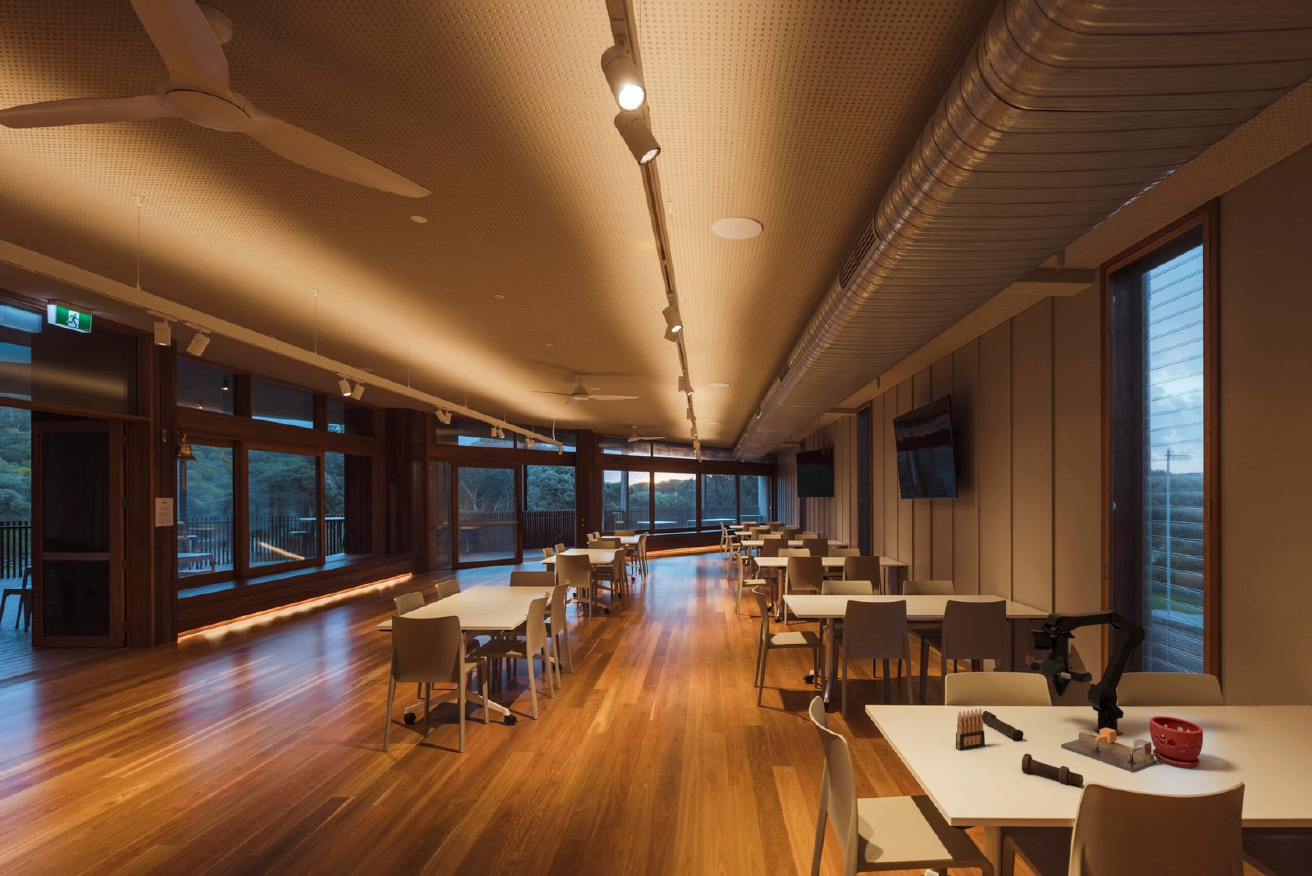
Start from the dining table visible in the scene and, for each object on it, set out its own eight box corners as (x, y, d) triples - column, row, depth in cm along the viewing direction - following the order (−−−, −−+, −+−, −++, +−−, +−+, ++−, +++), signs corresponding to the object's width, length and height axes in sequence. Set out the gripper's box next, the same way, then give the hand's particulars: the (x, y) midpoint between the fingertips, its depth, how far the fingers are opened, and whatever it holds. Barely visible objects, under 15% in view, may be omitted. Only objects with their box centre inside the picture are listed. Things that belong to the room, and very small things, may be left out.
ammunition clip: (980, 744, 220) (979, 707, 221) (985, 746, 218) (984, 708, 219) (955, 748, 216) (955, 710, 217) (960, 751, 214) (959, 712, 215)
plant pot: (1141, 757, 212) (1140, 718, 212) (1167, 751, 217) (1165, 713, 218) (1187, 774, 200) (1186, 733, 200) (1213, 767, 205) (1212, 727, 206)
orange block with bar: (1106, 743, 219) (1106, 727, 219) (1116, 746, 216) (1116, 730, 217) (1091, 748, 215) (1091, 732, 215) (1101, 751, 212) (1101, 735, 212)
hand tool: (1024, 742, 223) (1024, 728, 224) (1013, 742, 223) (1013, 728, 223) (990, 722, 242) (989, 709, 242) (979, 722, 242) (979, 709, 242)
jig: (1085, 740, 225) (1084, 721, 226) (1156, 763, 207) (1155, 743, 207) (1061, 747, 218) (1060, 728, 219) (1132, 772, 200) (1131, 751, 201)
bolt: (1081, 795, 189) (1023, 776, 199) (1085, 781, 192) (1027, 763, 202) (1079, 780, 187) (1020, 762, 197) (1083, 766, 190) (1025, 749, 201)
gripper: (1019, 647, 239) (1020, 691, 238) (1073, 659, 223) (1074, 707, 222) (1038, 643, 245) (1039, 687, 244) (1092, 655, 228) (1093, 702, 227)
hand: (1060, 696), depth 234 cm, fingers closed
